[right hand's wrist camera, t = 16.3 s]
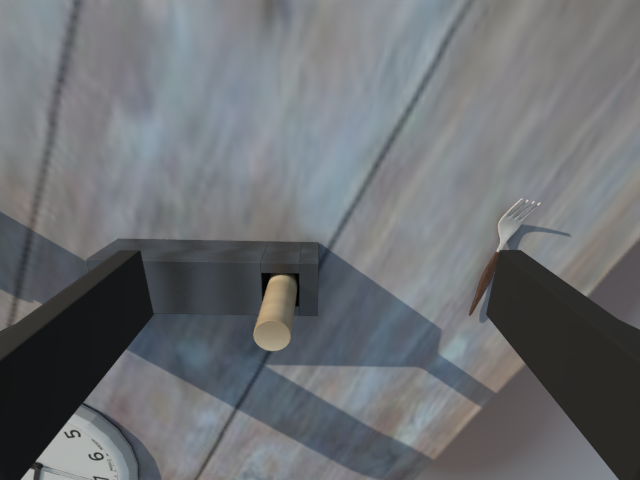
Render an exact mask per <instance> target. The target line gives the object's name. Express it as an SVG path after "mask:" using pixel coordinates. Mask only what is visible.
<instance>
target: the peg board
mask: <svg viewBox="0 0 640 480" xmlns="http://www.w3.org/2000/svg"><path fill="white" fill-rule="evenodd" d="M119 250H141V255H142V260H143V265H144V269H145V274H146V279H147V284H148V289H149V294H150V299H151V303H152V308H153V313H170V314H230V315H259V312H260V309H261V306H262V302H263V299H264V296H265V292H266V289H267V285H268V282H269V279H270V273H299V281H298V287H297V295H296V303H295V311H294V315H295V316H299V315H300V316H318V267H319V243H318V242H265V241H210V240H156V239H117V240H115V241H114V242H112V243H111V244H109V245H108V246H106V247H105V248H103V249H101V250H100V251H98V252H97V253H95V254H94V255H92V256H91V257H89V258H88V259H86V262H87V266H88V270H89V271H91V270H92V269H94V268H95V267H96V266H98V265H99V264H101V263H102V262H104V261H105V260H106V259H108V258H109V257H111V256H112V255H113V254H115V253H116V252H118V251H119Z"/></svg>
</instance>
